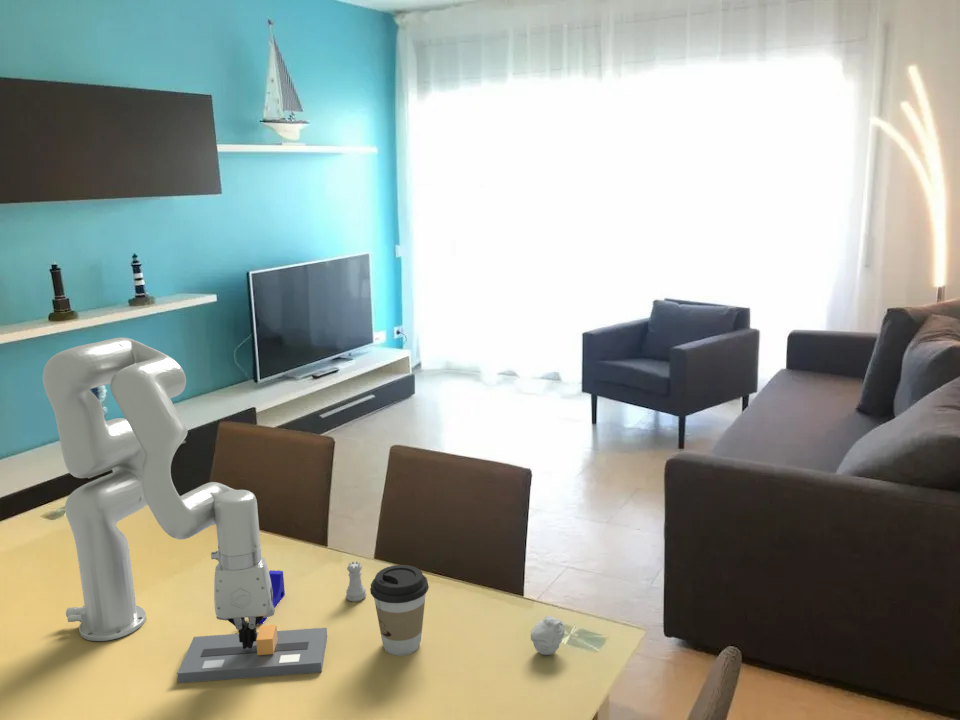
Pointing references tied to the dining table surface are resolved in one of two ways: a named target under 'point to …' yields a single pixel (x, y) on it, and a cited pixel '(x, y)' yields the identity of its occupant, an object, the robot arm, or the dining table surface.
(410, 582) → the coffee cup
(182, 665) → the switch panel
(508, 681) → the dining table surface
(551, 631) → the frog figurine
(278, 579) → the blue curved stepped piece
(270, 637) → the switch knob
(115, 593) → the robot arm
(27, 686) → the dining table surface
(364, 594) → the rook chess piece
